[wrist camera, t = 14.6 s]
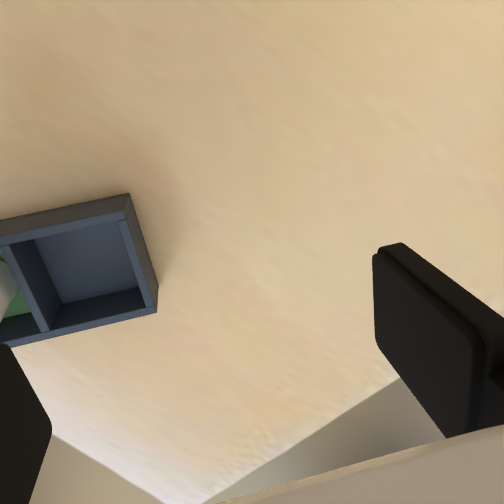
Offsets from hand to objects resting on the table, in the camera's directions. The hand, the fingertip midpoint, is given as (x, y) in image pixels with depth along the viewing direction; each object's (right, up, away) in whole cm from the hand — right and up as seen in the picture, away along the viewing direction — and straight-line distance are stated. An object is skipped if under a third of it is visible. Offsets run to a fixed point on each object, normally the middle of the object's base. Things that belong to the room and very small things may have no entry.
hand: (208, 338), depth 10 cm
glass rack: (-19, +1, +27) cm, 33 cm away
